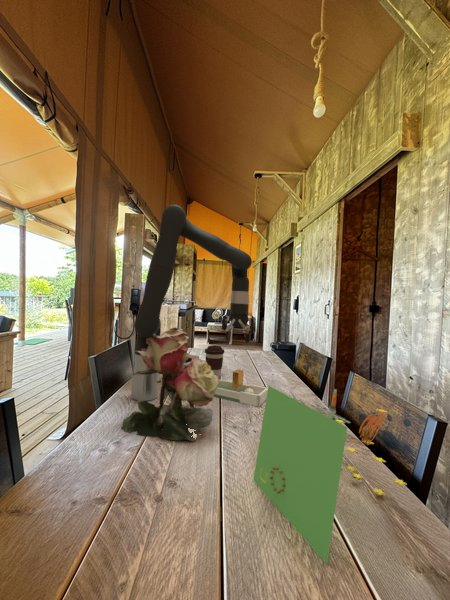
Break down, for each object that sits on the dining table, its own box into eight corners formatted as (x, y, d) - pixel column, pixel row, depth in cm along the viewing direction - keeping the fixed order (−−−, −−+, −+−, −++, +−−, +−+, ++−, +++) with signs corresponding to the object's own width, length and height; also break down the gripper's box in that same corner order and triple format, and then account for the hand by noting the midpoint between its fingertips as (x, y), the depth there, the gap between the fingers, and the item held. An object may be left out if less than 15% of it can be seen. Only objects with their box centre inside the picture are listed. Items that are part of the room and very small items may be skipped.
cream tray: (259, 406, 106) (259, 396, 106) (204, 394, 117) (204, 384, 117) (268, 397, 116) (268, 388, 116) (217, 386, 127) (217, 377, 127)
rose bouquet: (210, 446, 77) (214, 336, 76) (112, 432, 82) (116, 330, 82) (227, 409, 102) (230, 326, 102) (151, 400, 108) (154, 322, 107)
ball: (251, 389, 111) (242, 389, 113) (252, 400, 111) (243, 399, 113) (255, 387, 115) (246, 386, 116) (256, 397, 114) (246, 396, 116)
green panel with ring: (418, 534, 55) (434, 411, 56) (324, 566, 44) (347, 412, 45) (331, 470, 74) (344, 379, 75) (251, 481, 63) (268, 374, 64)
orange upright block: (237, 395, 113) (237, 373, 113) (231, 394, 114) (232, 372, 114) (243, 391, 118) (244, 370, 118) (237, 390, 119) (238, 369, 119)
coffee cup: (223, 379, 138) (224, 348, 138) (202, 378, 138) (204, 347, 138) (223, 373, 148) (224, 345, 148) (204, 372, 148) (205, 344, 148)
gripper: (220, 301, 116) (218, 341, 116) (252, 303, 109) (250, 345, 110) (228, 301, 122) (226, 338, 123) (259, 303, 116) (257, 342, 116)
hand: (237, 341), depth 116 cm, fingers open, 8 cm apart
